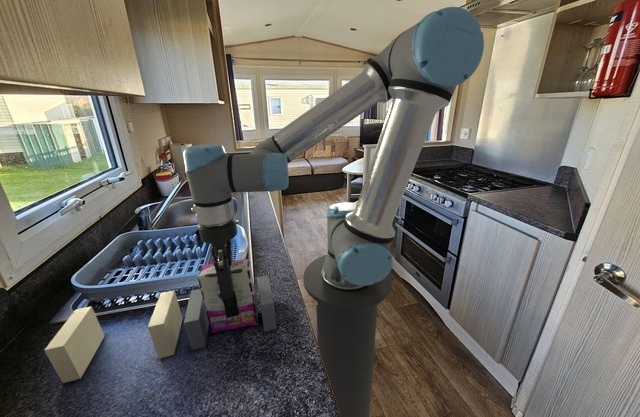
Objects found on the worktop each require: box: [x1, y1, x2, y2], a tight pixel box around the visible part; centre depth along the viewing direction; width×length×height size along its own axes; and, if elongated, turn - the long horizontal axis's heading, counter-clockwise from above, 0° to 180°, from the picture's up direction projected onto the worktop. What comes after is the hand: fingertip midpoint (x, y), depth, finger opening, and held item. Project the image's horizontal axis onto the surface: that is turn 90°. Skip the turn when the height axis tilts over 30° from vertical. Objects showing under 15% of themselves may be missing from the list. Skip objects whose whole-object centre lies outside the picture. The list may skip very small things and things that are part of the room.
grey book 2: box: [256, 274, 278, 332], centre depth 66 cm, size 3×11×8 cm, turn 17°
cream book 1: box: [43, 306, 106, 384], centre depth 55 cm, size 3×11×9 cm, turn 17°
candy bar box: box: [197, 258, 259, 334], centre depth 62 cm, size 11×5×16 cm, turn 102°
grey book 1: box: [183, 288, 209, 351], centre depth 62 cm, size 3×11×8 cm, turn 17°
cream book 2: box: [147, 289, 184, 359], centre depth 60 cm, size 3×11×9 cm, turn 17°
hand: (232, 306), depth 64 cm, fingers closed on candy bar box, 5 cm apart
